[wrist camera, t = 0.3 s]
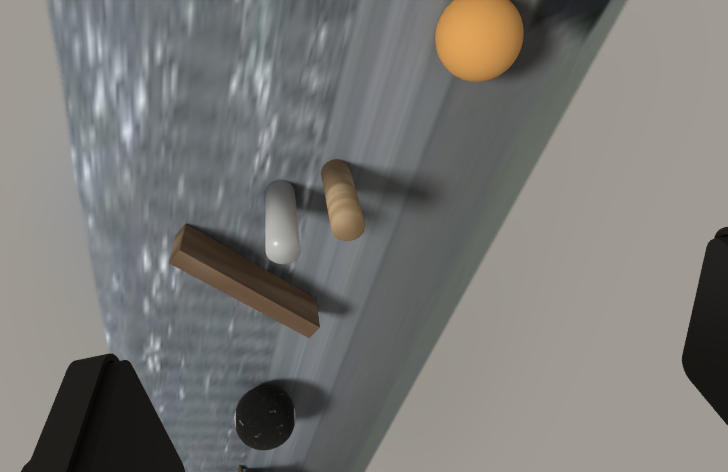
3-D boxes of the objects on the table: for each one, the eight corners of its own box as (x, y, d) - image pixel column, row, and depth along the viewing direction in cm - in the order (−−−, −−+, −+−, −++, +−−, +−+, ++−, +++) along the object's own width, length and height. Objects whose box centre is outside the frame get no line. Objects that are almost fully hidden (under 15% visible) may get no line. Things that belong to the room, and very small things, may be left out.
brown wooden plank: (185, 223, 48) (179, 250, 45) (316, 299, 54) (319, 327, 51) (175, 235, 48) (169, 263, 45) (306, 309, 55) (309, 338, 51)
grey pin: (259, 192, 47) (258, 249, 40) (281, 174, 47) (283, 229, 40) (279, 210, 48) (282, 269, 41) (300, 193, 48) (306, 250, 41)
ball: (410, 21, 42) (430, 43, 37) (478, -36, 40) (509, -22, 35) (455, 83, 45) (478, 110, 40) (520, 31, 43) (553, 53, 38)
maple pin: (315, 171, 47) (323, 226, 40) (337, 153, 46) (350, 205, 39) (334, 190, 48) (345, 246, 41) (356, 173, 48) (371, 227, 41)
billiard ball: (234, 375, 58) (231, 423, 53) (294, 372, 59) (297, 419, 54) (237, 415, 61) (234, 464, 56) (294, 412, 62) (296, 459, 57)
